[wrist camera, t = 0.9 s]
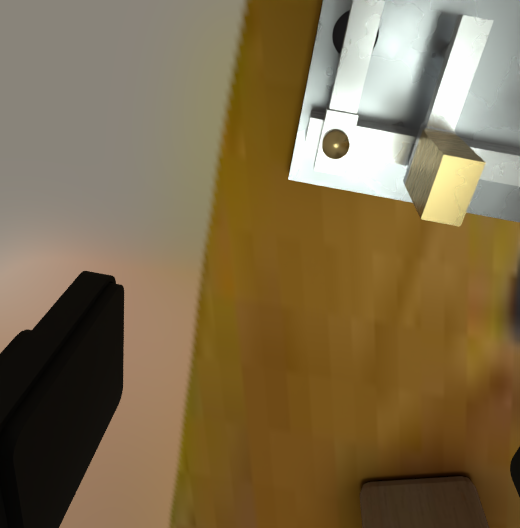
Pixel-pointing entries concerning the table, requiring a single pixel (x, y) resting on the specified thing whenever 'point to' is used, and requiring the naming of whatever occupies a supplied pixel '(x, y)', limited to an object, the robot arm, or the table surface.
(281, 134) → the table surface
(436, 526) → the wooden block
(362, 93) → the bolt plate
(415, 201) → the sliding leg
